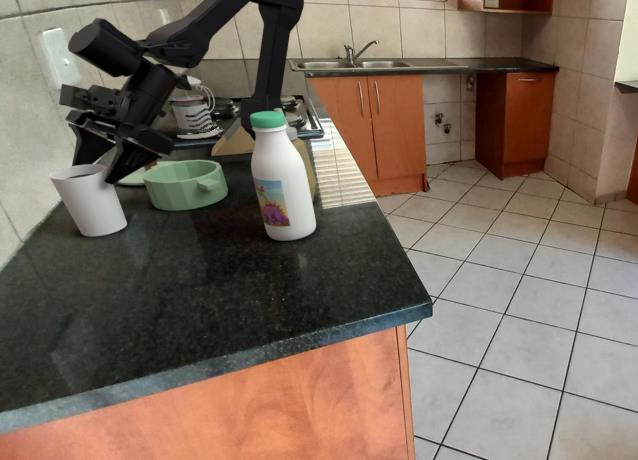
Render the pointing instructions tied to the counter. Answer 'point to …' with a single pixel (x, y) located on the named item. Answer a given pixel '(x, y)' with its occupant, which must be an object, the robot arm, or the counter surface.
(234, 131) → the sandwich container
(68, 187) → the white cup
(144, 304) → the counter surface
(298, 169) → the milk bottle
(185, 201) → the pot
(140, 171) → the lid
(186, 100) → the french press
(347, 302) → the counter surface
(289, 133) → the squeeze bottle
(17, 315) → the counter surface
